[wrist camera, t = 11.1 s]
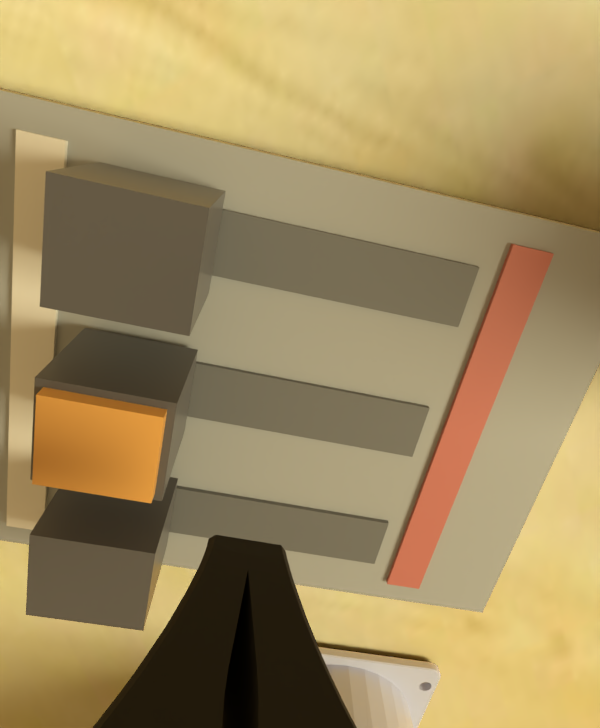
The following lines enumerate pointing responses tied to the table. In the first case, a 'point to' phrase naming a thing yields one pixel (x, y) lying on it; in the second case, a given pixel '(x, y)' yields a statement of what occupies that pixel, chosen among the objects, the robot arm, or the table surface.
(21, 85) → the table surface
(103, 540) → the block
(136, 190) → the block
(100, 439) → the breaker mid
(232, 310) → the breaker panel
